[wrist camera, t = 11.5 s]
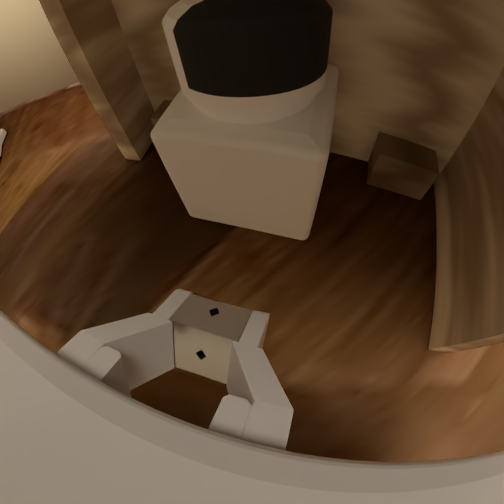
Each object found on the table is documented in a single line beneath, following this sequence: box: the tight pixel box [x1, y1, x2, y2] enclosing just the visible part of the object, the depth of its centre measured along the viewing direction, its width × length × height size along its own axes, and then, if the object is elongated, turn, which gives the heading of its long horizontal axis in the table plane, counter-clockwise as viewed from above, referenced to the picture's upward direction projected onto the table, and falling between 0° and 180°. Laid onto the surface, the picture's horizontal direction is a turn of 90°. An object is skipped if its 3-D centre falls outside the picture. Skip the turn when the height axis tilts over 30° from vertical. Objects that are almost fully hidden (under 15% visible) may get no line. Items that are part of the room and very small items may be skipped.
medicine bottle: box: [150, 0, 339, 240], centre depth 12 cm, size 7×7×12 cm
